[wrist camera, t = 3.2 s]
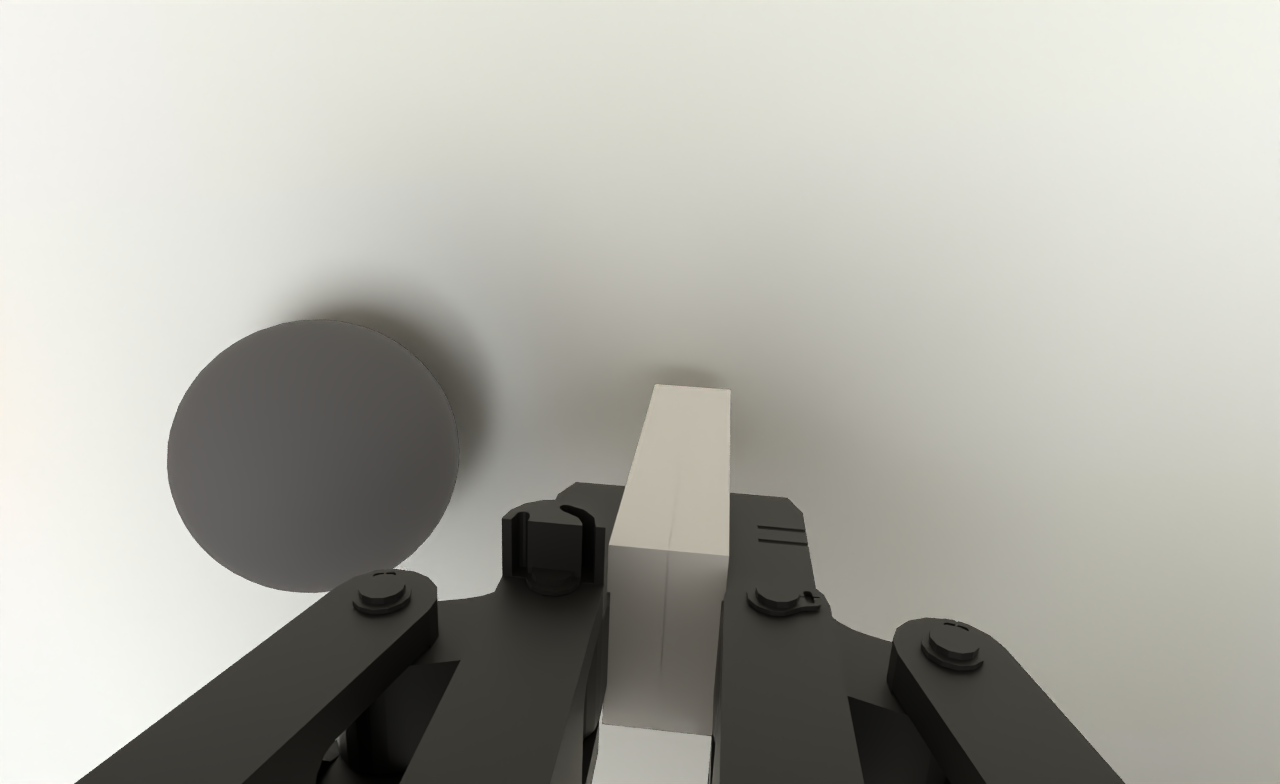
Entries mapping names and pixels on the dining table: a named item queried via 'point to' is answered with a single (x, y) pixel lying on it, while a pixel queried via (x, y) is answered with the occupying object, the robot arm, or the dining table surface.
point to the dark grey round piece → (312, 455)
